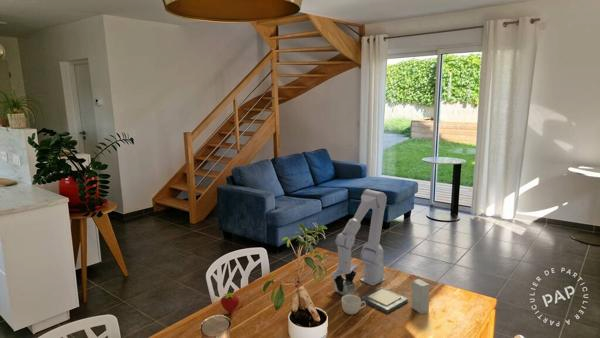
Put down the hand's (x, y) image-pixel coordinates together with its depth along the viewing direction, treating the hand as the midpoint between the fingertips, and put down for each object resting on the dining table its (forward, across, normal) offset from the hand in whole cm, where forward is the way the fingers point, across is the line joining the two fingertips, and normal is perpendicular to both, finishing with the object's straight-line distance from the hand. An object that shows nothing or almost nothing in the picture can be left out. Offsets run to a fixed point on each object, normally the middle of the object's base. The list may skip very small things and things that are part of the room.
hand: (344, 288), depth 173 cm
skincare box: (+2, -13, +30) cm, 33 cm away
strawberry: (+2, +47, -19) cm, 51 cm away
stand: (+2, -8, +16) cm, 18 cm away
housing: (+1, 0, 0) cm, 1 cm away
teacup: (+2, +8, +13) cm, 16 cm away
